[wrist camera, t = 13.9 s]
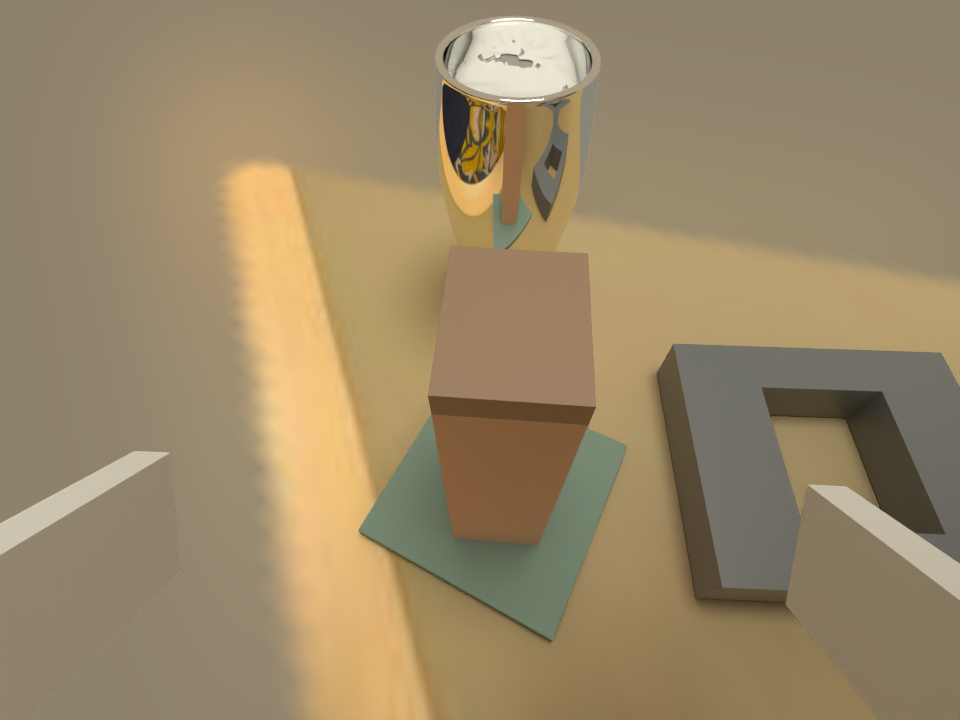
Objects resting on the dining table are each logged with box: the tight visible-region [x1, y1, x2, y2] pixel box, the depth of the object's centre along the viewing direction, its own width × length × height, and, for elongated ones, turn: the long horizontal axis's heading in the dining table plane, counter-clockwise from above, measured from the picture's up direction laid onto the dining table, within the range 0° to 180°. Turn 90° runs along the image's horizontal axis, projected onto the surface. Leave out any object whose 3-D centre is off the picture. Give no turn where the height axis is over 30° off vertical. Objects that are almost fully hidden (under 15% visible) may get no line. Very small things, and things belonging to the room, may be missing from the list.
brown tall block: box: [428, 246, 596, 545], centre depth 19 cm, size 4×5×14 cm
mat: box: [358, 415, 627, 641], centre depth 26 cm, size 10×10×1 cm
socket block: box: [657, 344, 960, 602], centre depth 25 cm, size 14×12×3 cm
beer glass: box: [435, 16, 601, 252], centre depth 26 cm, size 7×7×15 cm
